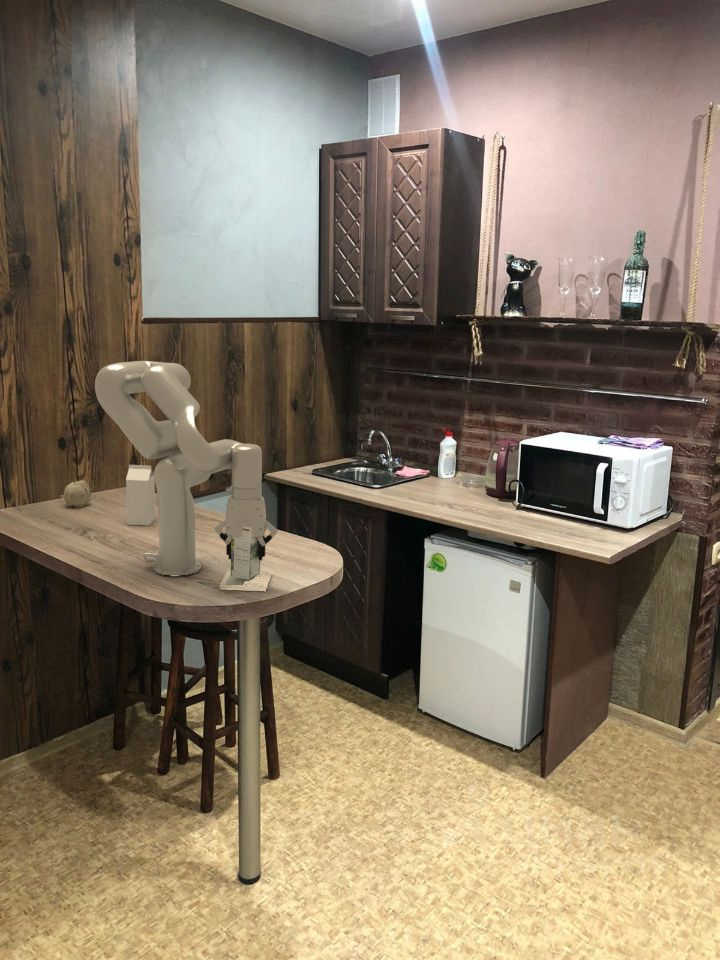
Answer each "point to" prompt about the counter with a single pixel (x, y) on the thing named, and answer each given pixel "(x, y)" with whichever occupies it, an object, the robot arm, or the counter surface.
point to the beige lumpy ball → (77, 494)
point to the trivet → (235, 579)
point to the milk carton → (140, 495)
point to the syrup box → (245, 555)
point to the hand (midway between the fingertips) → (245, 557)
